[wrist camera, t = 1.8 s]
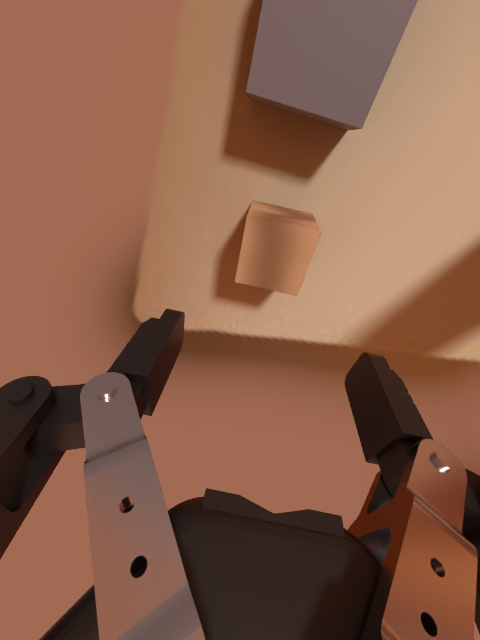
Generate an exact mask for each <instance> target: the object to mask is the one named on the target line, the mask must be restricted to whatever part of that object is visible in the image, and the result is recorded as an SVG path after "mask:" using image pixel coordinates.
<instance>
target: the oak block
mask: <svg viewBox="0 0 480 640" xmlns="http://www.w3.org/2000/svg"><path fill="white" fill-rule="evenodd" d="M320 234H321V231H320V229H319V227H318V224H317V222H316V220H315V218H314V216H313V214H311V213H307V212H302V211H298V210H293V209H289V208H284V207H280V206H275V205H271V204H267V203H262V202H258V201H253V202H252V204H251V207H250V209H249V212H248V214H247V218H246V223H245V229H244V234H243V240H242V245H241V250H240V256H239V261H238V267H237V272H236V278H235V282H236V283H241V284H245V285H250V286H255V287H259V288H264V289H268V290H273V291H277V292H282V293H286V294H291V295H295V296H297V294H298V292H299V289H300V286H301V284H302V281H303V279H304V276H305V273H306V271H307V268H308V266H309V263H310V260H311V258H312V255H313V252H314V250H315V247H316V245H317V242H318V239H319V237H320Z"/></svg>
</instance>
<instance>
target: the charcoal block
mask: <svg viewBox="0 0 480 640" xmlns="http://www.w3.org/2000/svg"><path fill="white" fill-rule="evenodd" d="M417 1H418V0H263V2H262V8H261V13H260V18H259V24H258V29H257V34H256V40H255V45H254V51H253V56H252V61H251V67H250V72H249V77H248V83H247V88H246V93H247V95H248V96H249V98H250V99H251V100H253V101H256V102H259V103H262V104H266V105H269V106H272V107H275V108H278V109H281V110H285V111H288V112H291V113H294V114H297V115H300V116H304V117H307V118H310V119H313V120H316V121H319V122H323V123H326V124H329V125H332V126H335V127H338V128H342V129H345V130H355V129H362V127H363V124H364V122H365V120H366V117H367V115H368V113H369V111H370V108H371V106H372V104H373V101H374V99H375V97H376V95H377V92H378V90H379V88H380V85H381V83H382V81H383V79H384V76H385V74H386V72H387V69H388V67H389V65H390V62H391V60H392V58H393V56H394V53H395V51H396V49H397V46H398V44H399V42H400V40H401V37H402V35H403V33H404V30H405V28H406V26H407V24H408V21H409V19H410V17H411V14H412V12H413V10H414V8H415V5H416V3H417Z"/></svg>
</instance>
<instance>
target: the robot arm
mask: <svg viewBox="0 0 480 640" xmlns="http://www.w3.org/2000/svg"><path fill="white" fill-rule="evenodd" d="M184 317H185V315H184V312H180V311H176V310H171V309H166V310H165V311H164V313H163V314H162V316H161V318H160V319H157V318H150V319H149V320H147V321H146V322H144V323H142V324H141V326H140V327H139V328H138V330H137V331H136V333H135V334H134V335H133V337H132V338H131V340H130V342H128V344H127V345H126V347H125V348H124V350H123V351H122V352H121V354H120V355H119V356H118V358H117V359H116V360H115V362H114V363H113V365H112V366H111V367H110V369H109V370H108V371H107V372H106V373H103V374H100V375H97V376H95V377H93V378H92V379H90V380H89V381H88V382H87V383H85V384H80V385H69V386H54V387H52V386H51V384H50V382H49V381H48V380H47V379H45V378H43V377H39V376H28V377H22V378H19V379H16V380H13V381H11V382H9V383H7V384H6V385H4V386H2V387H1V388H0V559H1V557H2V556H3V554H4V552H5V551H6V549H7V547H8V546H9V544H10V542H11V541H12V539H13V537H14V535H15V534H16V532H17V531H18V529H19V527H20V526H21V524H22V522H23V521H24V519H25V518H26V516H27V514H28V513H29V511H30V509H31V507H32V506H33V504H34V502H35V501H36V499H37V498H38V496H39V494H40V492H41V491H42V489H43V488H44V486H45V484H46V483H47V481H48V479H49V478H50V476H51V474H52V473H53V471H54V469H55V468H56V466H57V465H58V463H59V461H60V460H61V458H62V456H63V455H64V453H65V451H66V450H71V449H78V448H86V461H85V462H84V482H85V493H86V503H87V513H88V524H89V534H90V545H91V555H92V567H93V577H94V585H93V586H92V587H91V588H90V589H89V590H88V591H87V592H86V593H85V594H84V595H83V596H82V597H81V598H80V599H79V600H78V601H77V602H76V603H75V604H74V605H73V606H72V607H71V608H70V609H69V610H68V611H67V612H66V613H65V614H64V615H63V616H62V617H61V618H60V619H59V620H58V621H57V622H56V623H55V624H54V625H53V626H52V627H51V628H50V630H48V631H47V632H46V633H45V634H44V635H43V636H42V637H41V638H40V639H39V640H474V623H476V625H477V628H478V631H479V633H480V476H479V475H477V474H475V473H473V472H471V471H469V470H467V469H465V468H464V466H463V464H462V463H461V461H460V460H459V459H458V457H457V456H456V455H455V454H454V453H453V452H452V451H451V450H450V449H449V448H447V447H446V446H444V445H443V444H441V443H439V442H437V441H435V440H433V438H432V437H431V434H430V432H429V430H428V429H427V427H426V425H425V423H424V421H423V419H422V417H421V415H420V413H419V411H418V409H417V407H416V406H415V404H413V400H412V398H411V396H410V395H409V394H408V390H407V388H406V387H405V385H404V383H403V381H402V380H401V379H400V378H399V377H398V375H397V374H396V373H395V372H394V371H393V370H391V369H390V367H389V365H388V363H387V361H386V359H385V358H384V357H383V356H379V355H375V354H370V353H362V354H361V356H360V357H359V358H358V360H357V361H356V363H355V364H354V365H353V367H352V368H351V370H350V371H349V372H348V374H347V376H346V379H345V388H346V391H347V395H348V399H349V402H350V406H351V409H352V413H353V416H354V420H355V424H356V427H357V431H358V435H359V438H360V442H361V445H362V449H363V453H364V456H365V460H366V462H368V463H373V464H378V465H379V467H380V471H379V472H378V473H377V474H376V476H375V479H374V481H373V483H372V486H371V488H370V491H369V493H368V495H367V498H366V500H365V503H364V505H363V507H362V509H361V512H360V514H359V516H358V517H357V519H356V520H355V521H354V522H353V523H352V525H351V526H350V527H349V529H348V530H346V529H345V528H343V522H342V517H341V516H339V515H333V514H329V513H324V512H319V511H314V510H309V509H308V510H300V511H293V512H285V513H278V514H277V513H276V514H275V513H272V512H269V511H268V510H266V509H264V508H262V507H260V506H259V505H257V504H255V503H253V502H251V501H249V500H248V499H246V498H244V497H242V496H240V495H236V494H232V493H227V492H222V491H217V490H212V489H206V491H205V495H204V497H198V498H193V499H190V500H187V501H184V502H182V503H180V504H178V505H176V506H175V507H173V508H171V509H170V510H169V511H167V507H166V504H165V500H164V497H163V493H162V489H161V486H160V482H159V479H158V475H157V472H156V468H155V465H154V461H153V458H152V454H151V451H150V447H149V444H148V441H147V438H146V436H145V434H144V432H143V428H142V424H141V420H140V419H141V417H142V415H143V414H145V415H149V416H152V413H153V411H154V409H155V407H156V404H157V402H158V400H159V398H160V395H161V393H162V391H163V389H164V386H165V384H166V382H167V379H168V378H169V375H170V373H171V371H172V368H173V366H174V364H175V362H176V360H177V357H178V355H179V353H180V350H181V348H182V343H183V338H184Z"/></svg>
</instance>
